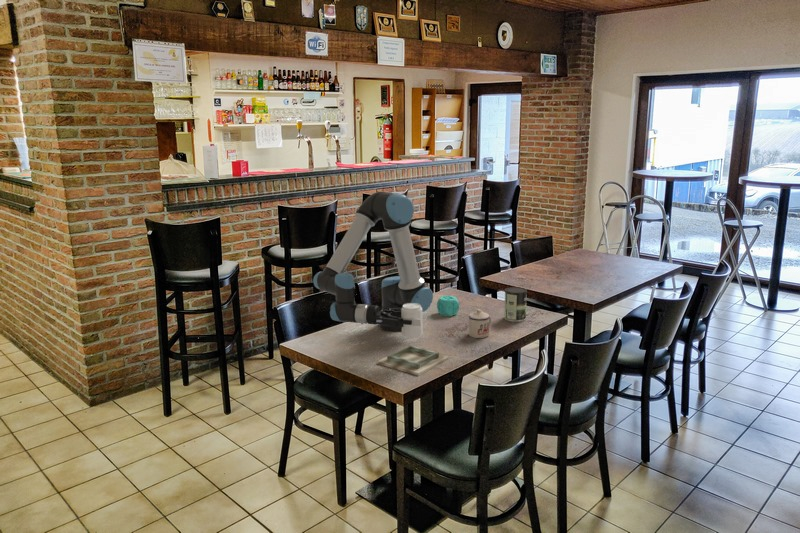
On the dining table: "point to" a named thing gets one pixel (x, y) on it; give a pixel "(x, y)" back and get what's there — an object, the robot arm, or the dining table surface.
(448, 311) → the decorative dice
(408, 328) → the beverage can
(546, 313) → the dining table surface
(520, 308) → the coffee can
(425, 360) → the board
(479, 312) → the teacup with lid
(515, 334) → the dining table surface
